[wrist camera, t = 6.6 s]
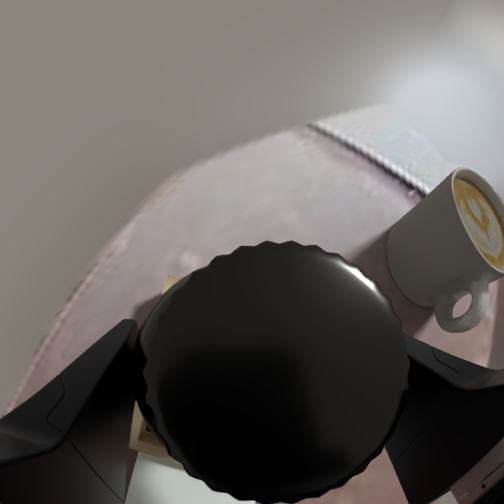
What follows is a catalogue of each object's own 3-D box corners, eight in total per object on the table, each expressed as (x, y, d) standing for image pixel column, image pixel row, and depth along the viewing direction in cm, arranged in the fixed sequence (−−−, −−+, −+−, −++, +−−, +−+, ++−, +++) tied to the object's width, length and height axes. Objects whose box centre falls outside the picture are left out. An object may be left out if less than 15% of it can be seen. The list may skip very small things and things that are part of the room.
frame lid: (238, 530, 14) (247, 558, 10) (130, 507, 14) (118, 532, 9) (258, 459, 17) (273, 479, 13) (144, 433, 16) (130, 449, 12)
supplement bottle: (140, 376, 14) (10, 378, 3) (216, 287, 17) (250, 131, 6) (239, 450, 13) (322, 578, 2) (308, 358, 16) (477, 316, 5)
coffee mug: (392, 203, 29) (447, 147, 20) (453, 243, 29) (511, 204, 20) (368, 318, 23) (450, 283, 14) (441, 351, 23) (520, 331, 14)
